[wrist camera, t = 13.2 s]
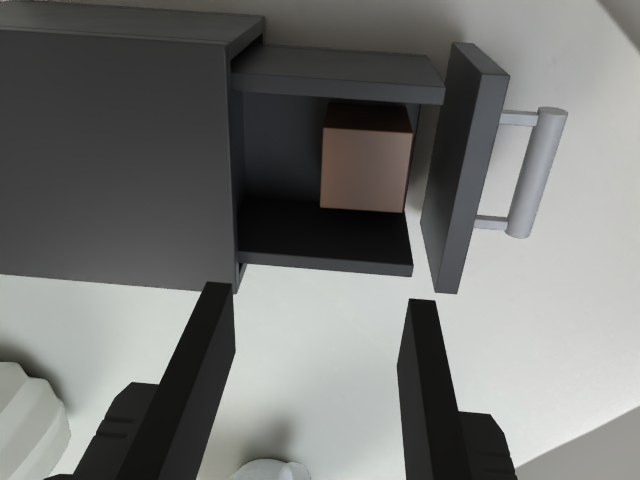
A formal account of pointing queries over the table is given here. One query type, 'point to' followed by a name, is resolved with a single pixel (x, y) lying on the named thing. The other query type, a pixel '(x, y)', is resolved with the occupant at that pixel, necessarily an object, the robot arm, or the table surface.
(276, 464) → the mug
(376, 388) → the table surface
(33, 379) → the vase
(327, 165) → the block
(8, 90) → the cabinet
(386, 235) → the drawer
